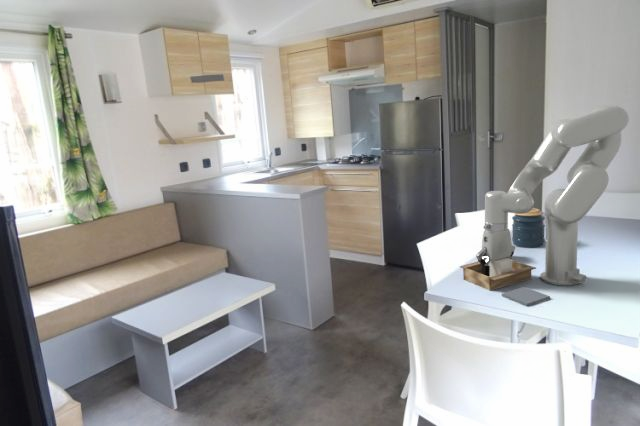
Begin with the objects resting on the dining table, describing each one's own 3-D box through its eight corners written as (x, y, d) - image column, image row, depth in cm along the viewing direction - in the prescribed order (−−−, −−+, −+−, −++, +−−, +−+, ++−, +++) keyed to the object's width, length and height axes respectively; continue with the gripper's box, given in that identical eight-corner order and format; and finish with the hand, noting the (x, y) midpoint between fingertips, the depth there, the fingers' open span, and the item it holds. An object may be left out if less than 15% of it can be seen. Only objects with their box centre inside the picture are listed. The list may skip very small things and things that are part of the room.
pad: (549, 298, 142) (550, 296, 142) (526, 306, 138) (526, 303, 138) (524, 289, 151) (524, 286, 151) (501, 295, 147) (501, 293, 147)
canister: (538, 239, 204) (538, 200, 200) (549, 247, 191) (550, 206, 188) (508, 240, 205) (508, 202, 202) (517, 249, 193) (517, 208, 189)
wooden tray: (536, 279, 158) (536, 267, 157) (494, 292, 151) (494, 279, 150) (499, 267, 173) (498, 256, 172) (459, 278, 166) (459, 266, 165)
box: (512, 281, 159) (512, 259, 157) (501, 284, 157) (501, 262, 155) (492, 274, 167) (492, 253, 165) (482, 277, 165) (482, 256, 163)
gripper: (485, 232, 151) (485, 280, 155) (523, 224, 158) (522, 270, 161) (469, 228, 158) (469, 274, 161) (506, 220, 165) (505, 265, 168)
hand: (495, 272), depth 161 cm, fingers open, 9 cm apart
